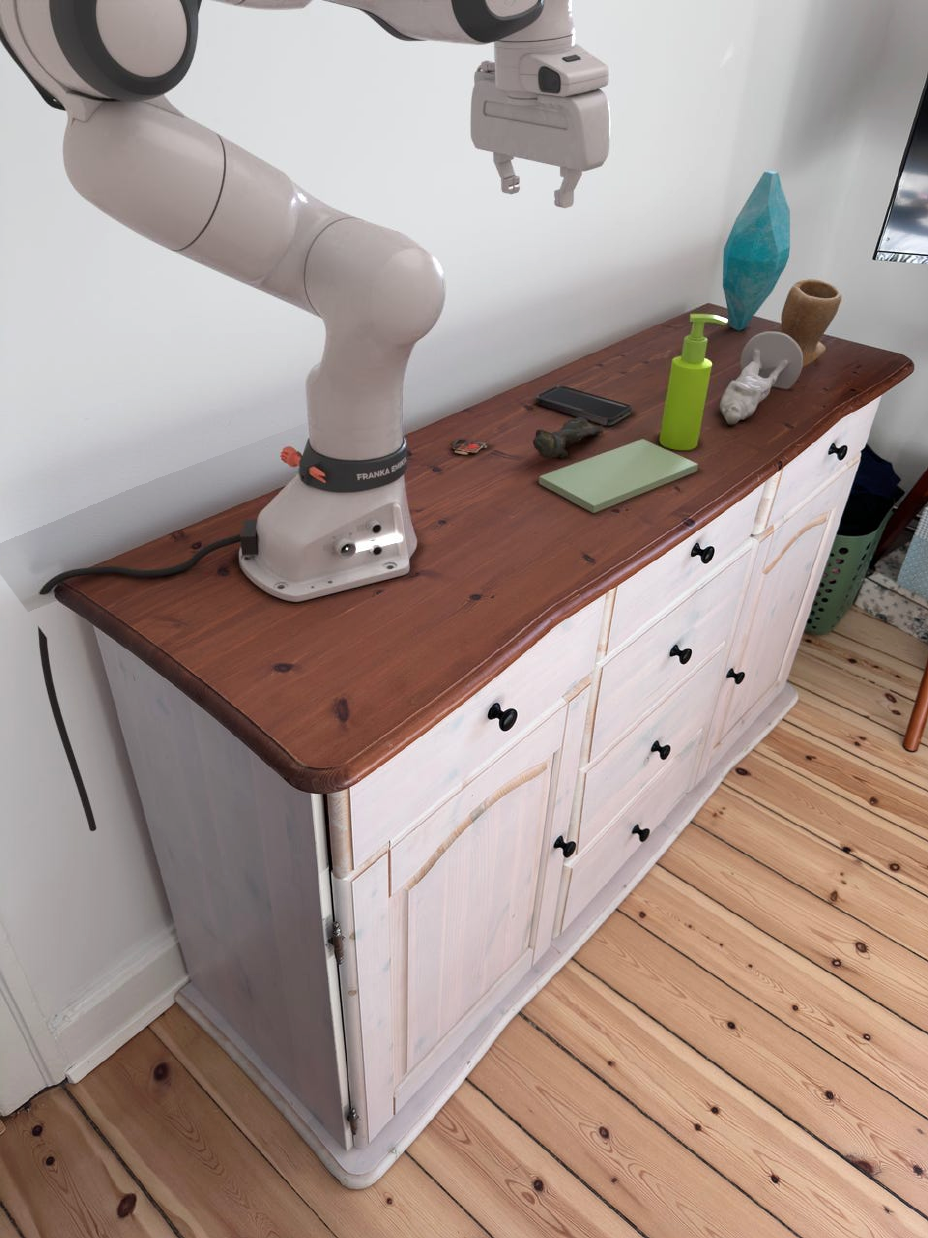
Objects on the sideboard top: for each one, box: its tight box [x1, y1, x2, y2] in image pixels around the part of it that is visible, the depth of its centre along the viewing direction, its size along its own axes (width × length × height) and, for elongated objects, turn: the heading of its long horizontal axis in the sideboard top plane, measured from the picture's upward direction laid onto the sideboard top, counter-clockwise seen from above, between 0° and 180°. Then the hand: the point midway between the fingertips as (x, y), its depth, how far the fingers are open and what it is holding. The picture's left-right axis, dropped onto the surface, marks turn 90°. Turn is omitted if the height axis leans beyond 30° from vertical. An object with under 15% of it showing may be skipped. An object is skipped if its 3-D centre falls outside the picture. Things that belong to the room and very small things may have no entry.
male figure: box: [719, 330, 803, 425], centre depth 158 cm, size 11×10×25 cm
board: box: [538, 438, 699, 514], centre depth 135 cm, size 22×11×1 cm, turn 129°
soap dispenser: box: [659, 313, 728, 451], centre depth 140 cm, size 6×7×20 cm
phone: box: [535, 385, 633, 427], centre depth 156 cm, size 8×1×15 cm
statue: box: [532, 417, 604, 459], centre depth 140 cm, size 6×6×20 cm
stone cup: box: [780, 278, 842, 368], centre depth 174 cm, size 15×12×15 cm
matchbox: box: [452, 439, 488, 455], centre depth 142 cm, size 5×5×1 cm
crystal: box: [722, 170, 791, 331], centre depth 186 cm, size 12×14×30 cm
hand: (536, 199), depth 111 cm, fingers open, 8 cm apart
